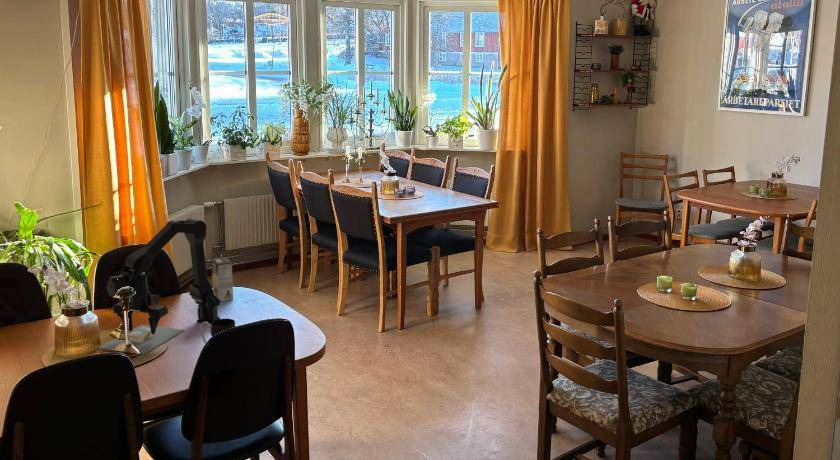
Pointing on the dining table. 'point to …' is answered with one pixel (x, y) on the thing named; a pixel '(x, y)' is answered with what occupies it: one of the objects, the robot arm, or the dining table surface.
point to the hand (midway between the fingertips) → (142, 332)
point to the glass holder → (218, 326)
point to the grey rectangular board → (150, 344)
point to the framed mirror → (141, 335)
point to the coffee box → (222, 278)
